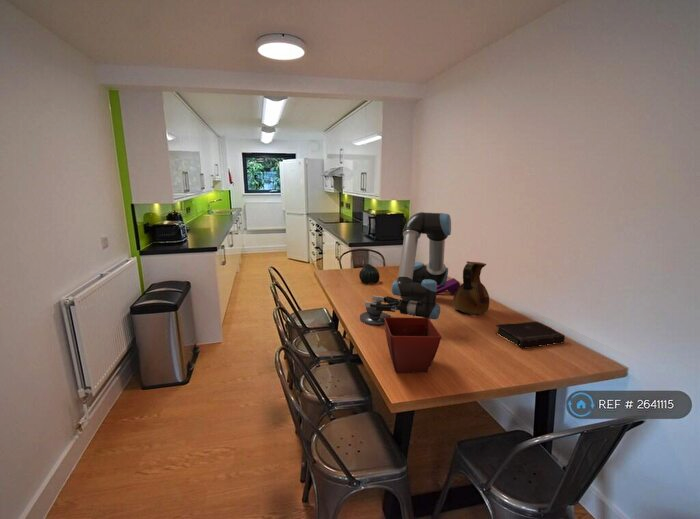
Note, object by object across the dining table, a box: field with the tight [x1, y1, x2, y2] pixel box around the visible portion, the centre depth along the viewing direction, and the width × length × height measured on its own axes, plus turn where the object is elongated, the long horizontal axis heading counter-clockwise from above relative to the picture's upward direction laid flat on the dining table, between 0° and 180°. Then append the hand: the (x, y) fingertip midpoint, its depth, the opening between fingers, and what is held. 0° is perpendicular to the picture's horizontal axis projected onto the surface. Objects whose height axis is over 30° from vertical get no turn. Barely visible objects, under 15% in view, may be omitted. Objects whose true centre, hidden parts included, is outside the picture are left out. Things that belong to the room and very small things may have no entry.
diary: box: [495, 320, 566, 349], centre depth 167 cm, size 19×25×5 cm
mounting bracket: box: [436, 277, 461, 296], centre depth 234 cm, size 9×8×18 cm
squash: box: [358, 263, 381, 285], centre depth 254 cm, size 14×15×15 cm
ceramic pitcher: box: [452, 260, 490, 316], centre depth 197 cm, size 20×20×30 cm
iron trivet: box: [359, 311, 392, 327], centre depth 186 cm, size 17×17×2 cm
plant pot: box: [384, 316, 442, 374], centre depth 138 cm, size 19×19×17 cm
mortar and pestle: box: [365, 298, 384, 319], centre depth 183 cm, size 11×9×12 cm
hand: (368, 300), depth 185 cm, fingers open, 10 cm apart
